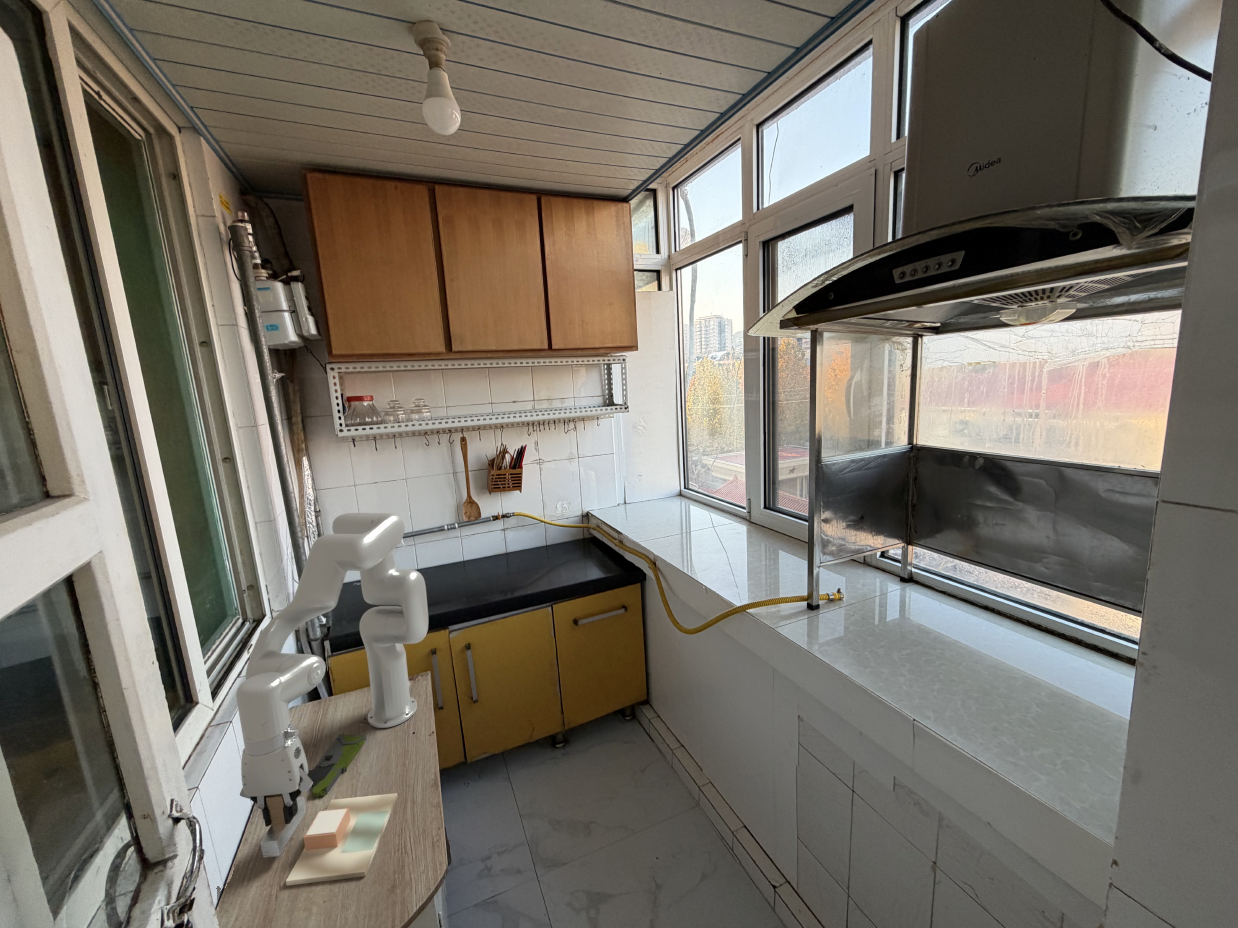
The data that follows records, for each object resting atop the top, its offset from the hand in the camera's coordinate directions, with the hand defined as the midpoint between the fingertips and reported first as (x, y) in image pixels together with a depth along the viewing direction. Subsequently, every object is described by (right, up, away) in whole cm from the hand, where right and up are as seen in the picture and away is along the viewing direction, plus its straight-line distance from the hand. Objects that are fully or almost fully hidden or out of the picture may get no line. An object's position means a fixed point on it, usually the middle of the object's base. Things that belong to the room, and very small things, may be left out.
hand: (281, 818), depth 98 cm
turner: (0, -4, +1) cm, 4 cm away
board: (+12, -5, +2) cm, 13 cm away
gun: (-5, -3, +21) cm, 22 cm away
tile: (+9, -5, +2) cm, 10 cm away
